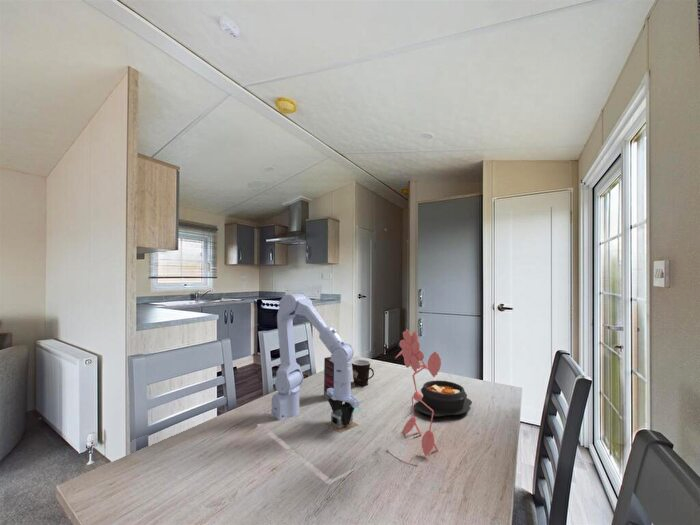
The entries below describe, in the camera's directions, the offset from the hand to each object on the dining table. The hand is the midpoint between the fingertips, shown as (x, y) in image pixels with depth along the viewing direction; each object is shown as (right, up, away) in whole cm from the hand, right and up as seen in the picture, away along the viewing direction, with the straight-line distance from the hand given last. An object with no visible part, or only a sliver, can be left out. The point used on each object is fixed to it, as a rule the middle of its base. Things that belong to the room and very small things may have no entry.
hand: (341, 422), depth 108 cm
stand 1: (0, -2, 0) cm, 2 cm away
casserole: (+39, -3, +15) cm, 41 cm away
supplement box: (-4, -2, +24) cm, 25 cm away
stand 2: (+2, -2, +12) cm, 12 cm away
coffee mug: (+8, -3, +39) cm, 40 cm away
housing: (0, -1, 0) cm, 1 cm away
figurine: (+21, -2, -11) cm, 23 cm away
